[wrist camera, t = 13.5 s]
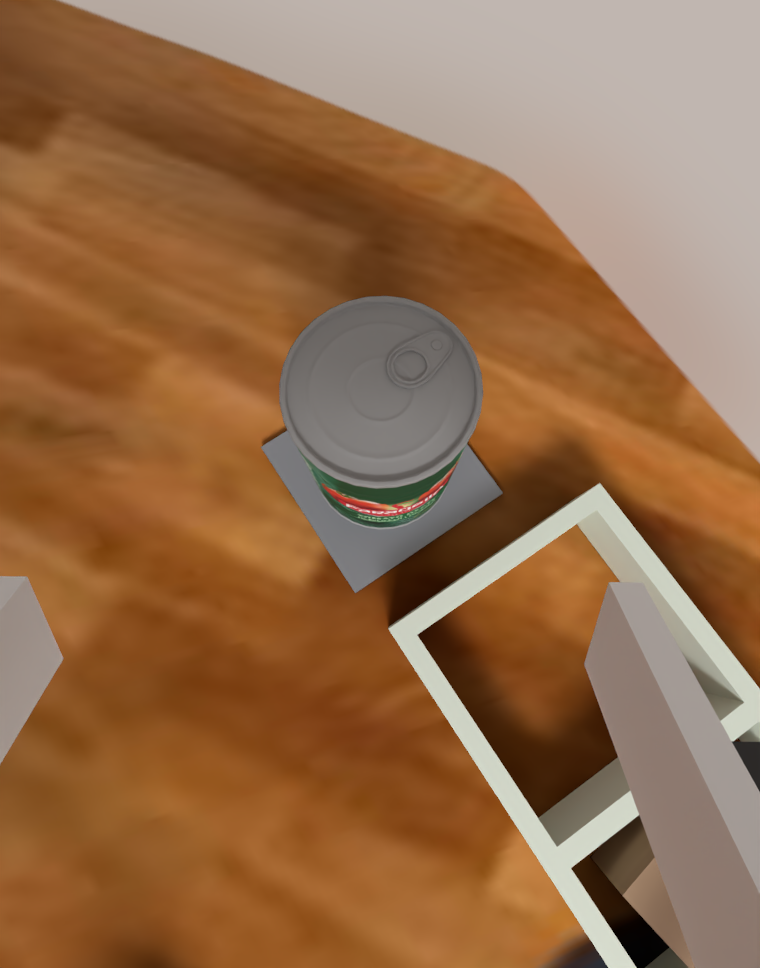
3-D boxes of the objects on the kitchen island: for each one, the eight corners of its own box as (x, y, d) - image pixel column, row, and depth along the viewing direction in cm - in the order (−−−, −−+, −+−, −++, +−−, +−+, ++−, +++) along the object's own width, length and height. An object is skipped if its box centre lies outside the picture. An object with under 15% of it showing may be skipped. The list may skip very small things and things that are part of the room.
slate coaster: (262, 449, 33) (260, 447, 33) (403, 360, 34) (403, 357, 34) (355, 593, 31) (355, 593, 31) (501, 494, 32) (503, 493, 32)
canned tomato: (373, 559, 31) (365, 531, 20) (286, 453, 33) (236, 376, 22) (480, 469, 32) (526, 399, 21) (391, 371, 34) (393, 258, 23)
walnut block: (589, 856, 28) (622, 895, 24) (642, 796, 29) (682, 824, 25) (651, 923, 28) (694, 974, 24) (703, 860, 28) (754, 900, 24)
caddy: (388, 627, 31) (388, 628, 27) (577, 496, 32) (599, 483, 29) (635, 1007, 27) (671, 1064, 23) (838, 838, 28) (900, 870, 25)
